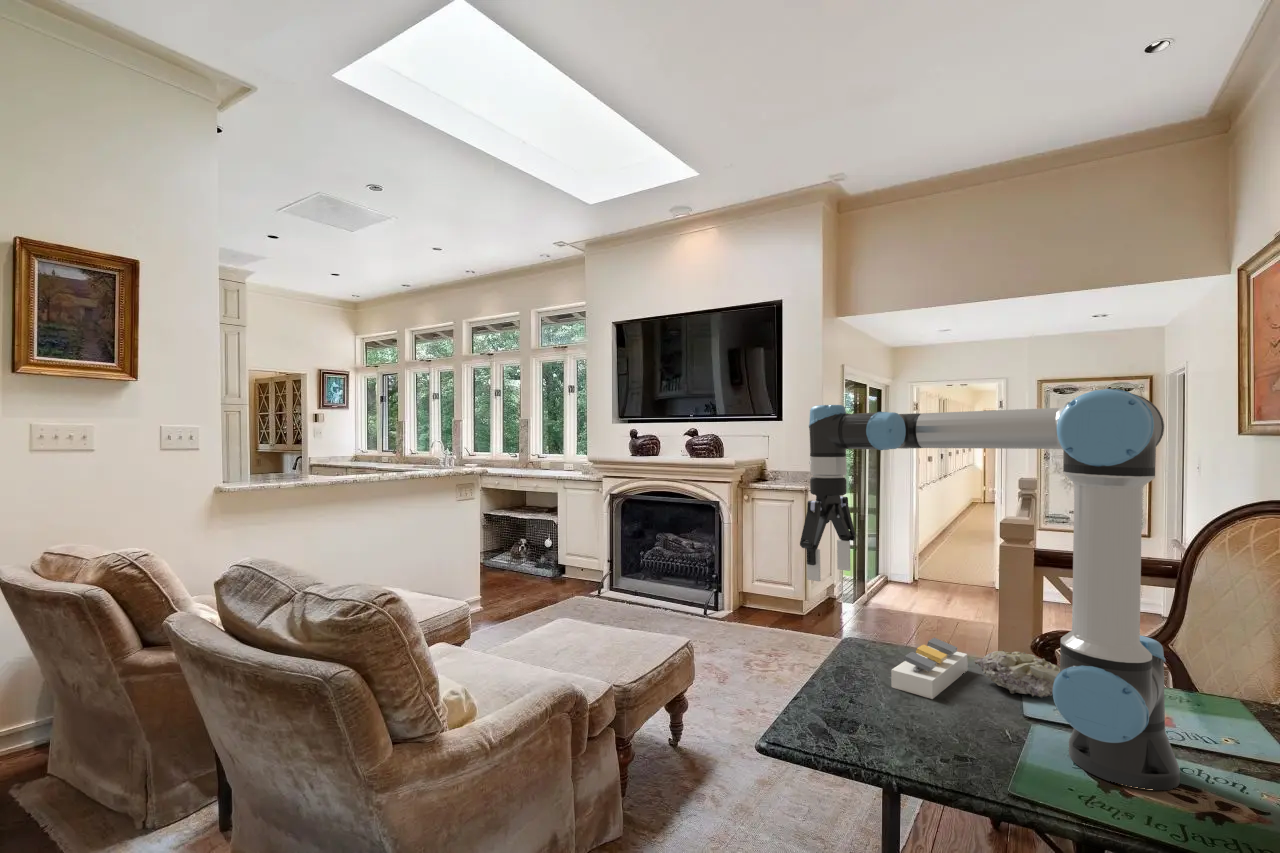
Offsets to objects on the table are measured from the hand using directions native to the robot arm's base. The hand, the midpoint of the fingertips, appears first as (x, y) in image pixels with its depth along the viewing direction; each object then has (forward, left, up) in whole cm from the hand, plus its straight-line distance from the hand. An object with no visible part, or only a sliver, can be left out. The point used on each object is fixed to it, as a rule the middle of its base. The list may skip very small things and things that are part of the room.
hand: (829, 575), depth 133 cm
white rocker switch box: (-10, -32, -28) cm, 43 cm away
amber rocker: (-10, -29, -23) cm, 38 cm away
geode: (-27, -37, -28) cm, 54 cm away
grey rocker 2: (-10, -36, -23) cm, 44 cm away
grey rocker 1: (-10, -22, -23) cm, 33 cm away
